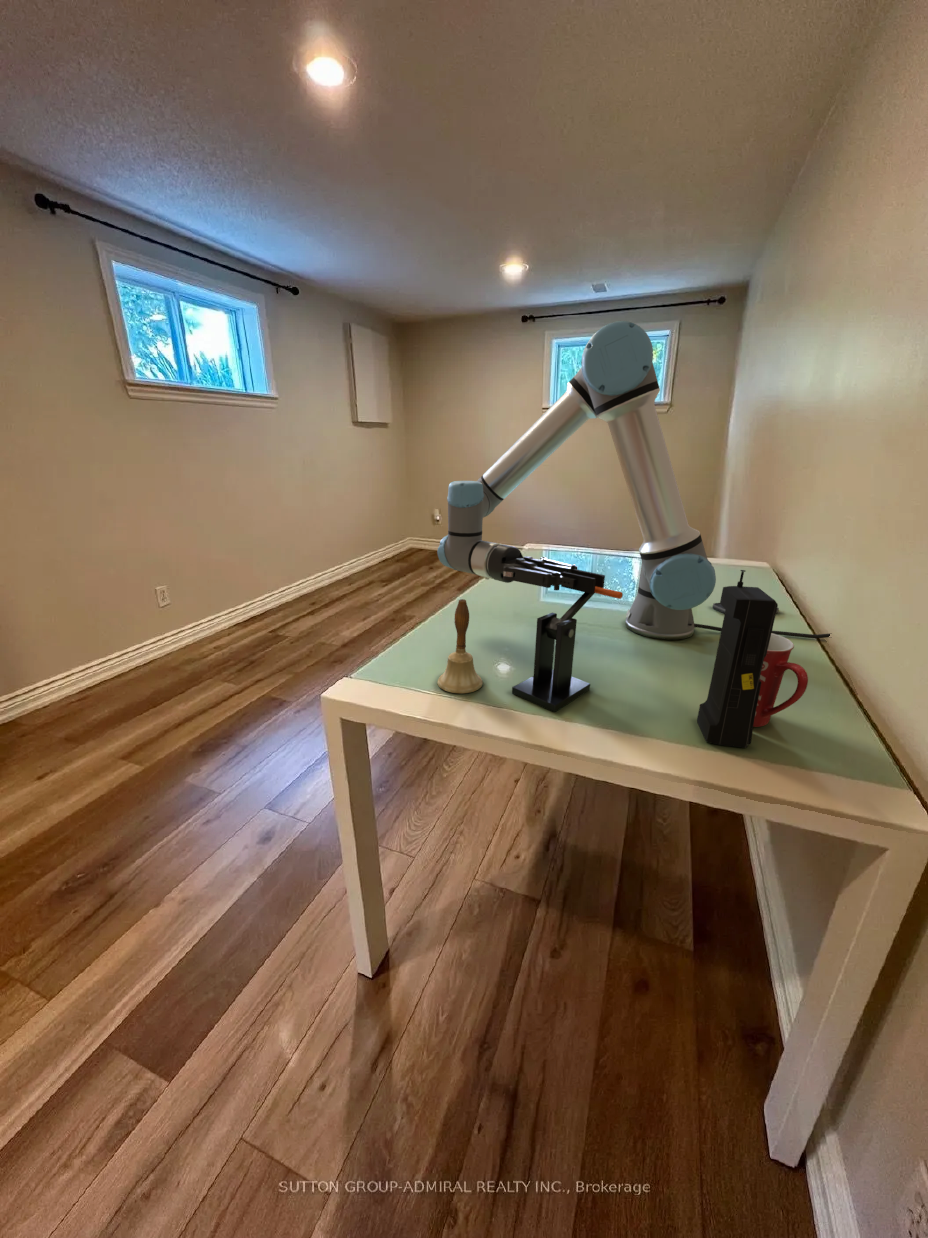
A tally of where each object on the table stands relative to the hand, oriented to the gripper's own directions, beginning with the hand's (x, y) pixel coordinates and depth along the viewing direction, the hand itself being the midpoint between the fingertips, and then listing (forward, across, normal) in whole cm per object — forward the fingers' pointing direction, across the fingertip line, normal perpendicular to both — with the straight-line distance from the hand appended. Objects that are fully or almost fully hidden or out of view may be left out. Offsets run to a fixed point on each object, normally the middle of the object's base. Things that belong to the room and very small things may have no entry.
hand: (598, 584), depth 87 cm
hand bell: (-15, +20, -18) cm, 31 cm away
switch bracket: (-1, +10, -18) cm, 21 cm away
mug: (+27, -4, -18) cm, 33 cm away
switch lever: (-1, +5, -5) cm, 7 cm away
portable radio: (+25, +3, -18) cm, 31 cm away
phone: (+9, -64, -18) cm, 67 cm away
